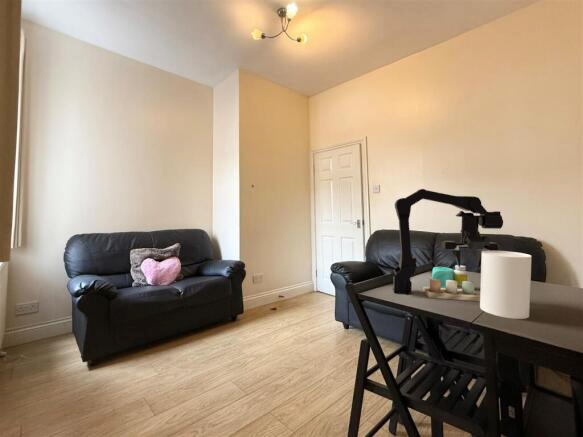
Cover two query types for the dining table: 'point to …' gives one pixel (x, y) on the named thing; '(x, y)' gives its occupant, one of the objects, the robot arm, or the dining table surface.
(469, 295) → the three-slot wooden rack
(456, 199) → the robot arm
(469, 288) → the button sage
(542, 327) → the dining table surface
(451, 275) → the turquoise rounded piece
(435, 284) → the button terracotta
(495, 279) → the canister
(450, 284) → the button cream
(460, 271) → the supplement bottle
